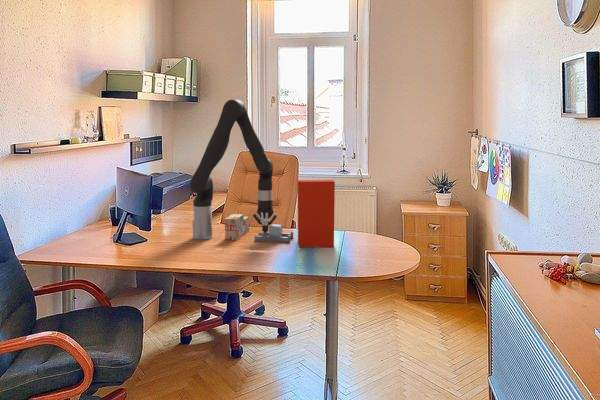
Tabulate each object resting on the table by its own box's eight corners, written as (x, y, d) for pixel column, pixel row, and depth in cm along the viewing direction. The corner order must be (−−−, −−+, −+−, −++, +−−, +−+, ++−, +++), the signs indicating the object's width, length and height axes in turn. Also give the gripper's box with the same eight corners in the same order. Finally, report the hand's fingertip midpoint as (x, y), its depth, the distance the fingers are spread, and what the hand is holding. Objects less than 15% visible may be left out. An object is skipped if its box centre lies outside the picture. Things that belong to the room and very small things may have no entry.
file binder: (297, 243, 243) (297, 179, 237) (331, 243, 243) (332, 179, 238) (298, 247, 235) (298, 181, 229) (333, 247, 236) (334, 181, 230)
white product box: (238, 232, 267) (237, 210, 265) (249, 233, 265) (248, 211, 264) (225, 242, 246) (224, 218, 244) (237, 242, 245) (236, 218, 243)
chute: (254, 243, 243) (254, 234, 243) (259, 238, 252) (259, 230, 252) (289, 244, 240) (289, 235, 240) (293, 240, 249) (293, 231, 249)
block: (269, 240, 244) (269, 226, 243) (271, 238, 249) (271, 224, 248) (279, 241, 243) (279, 226, 242) (282, 238, 248) (282, 224, 247)
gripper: (250, 199, 241) (250, 233, 244) (276, 200, 239) (276, 234, 242) (254, 197, 248) (254, 230, 251) (279, 198, 246) (279, 231, 249)
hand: (265, 232), depth 246 cm, fingers closed
